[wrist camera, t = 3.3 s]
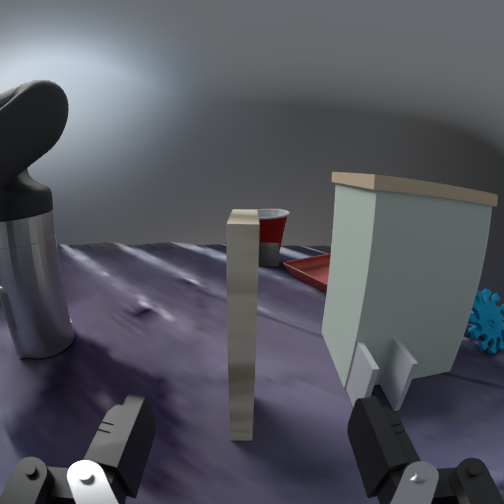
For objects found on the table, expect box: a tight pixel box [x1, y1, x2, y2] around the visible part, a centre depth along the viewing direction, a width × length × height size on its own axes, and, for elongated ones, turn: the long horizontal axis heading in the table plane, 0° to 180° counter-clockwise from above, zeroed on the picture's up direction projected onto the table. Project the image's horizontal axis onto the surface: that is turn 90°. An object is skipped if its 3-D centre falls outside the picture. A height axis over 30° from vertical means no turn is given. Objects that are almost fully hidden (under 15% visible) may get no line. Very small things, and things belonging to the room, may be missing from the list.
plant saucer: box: [283, 254, 331, 294], centre depth 58 cm, size 18×18×3 cm
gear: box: [468, 289, 504, 355], centre depth 33 cm, size 11×6×10 cm
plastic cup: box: [257, 209, 289, 250], centre depth 67 cm, size 11×11×12 cm
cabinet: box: [321, 172, 498, 411], centre depth 29 cm, size 17×15×21 cm
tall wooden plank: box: [227, 209, 279, 441], centre depth 22 cm, size 6×3×18 cm, turn 0°
